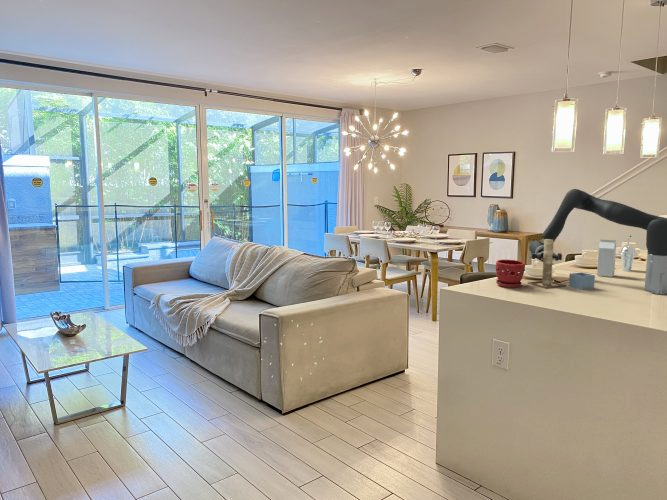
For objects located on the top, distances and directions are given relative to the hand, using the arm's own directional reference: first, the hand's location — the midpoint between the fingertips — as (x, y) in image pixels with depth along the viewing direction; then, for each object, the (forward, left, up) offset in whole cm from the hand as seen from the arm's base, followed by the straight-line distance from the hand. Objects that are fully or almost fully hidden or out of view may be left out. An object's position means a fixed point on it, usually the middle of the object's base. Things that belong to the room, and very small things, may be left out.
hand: (548, 258), depth 231 cm
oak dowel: (+2, -1, -13) cm, 14 cm away
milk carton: (+13, -50, -14) cm, 54 cm away
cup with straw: (+20, -73, -14) cm, 77 cm away
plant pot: (+10, +14, -14) cm, 22 cm away
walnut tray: (+2, -1, -14) cm, 14 cm away
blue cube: (-8, -12, -14) cm, 20 cm away
